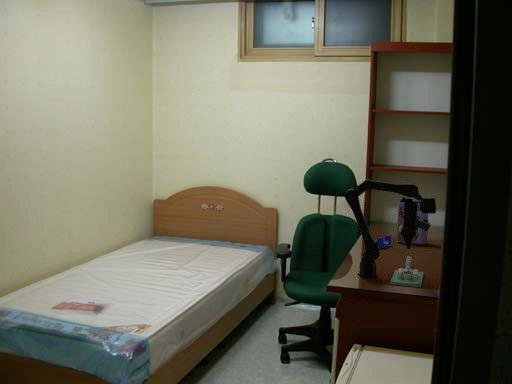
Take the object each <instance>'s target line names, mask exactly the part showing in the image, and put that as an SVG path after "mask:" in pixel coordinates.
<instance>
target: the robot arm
mask: <svg viewBox="0 0 512 384" xmlns="http://www.w3.org/2000/svg"><path fill="white" fill-rule="evenodd" d="M367 190H375V191H383V192H387V193H388V192H389V193H395V194H398V195H401V196H402V197H401V198H400V199H399V203H404V211H403V228H402V229H401V235H402V236H403V238H404V241H405V243H406V244H405V243H404V244H405V246H406V247H407V249H408V250H411V247H412V240H413V237H414V236H416V234H417V232H416V231H418V228H421V229H423V230H425V231H427V232H429V230H430V227H431V223H430V222H429V219H428V220H427V219H424V220H420V219H418V216H417V206H418V204H419V211H421V213H424V214H428V215H430V214H431V215H435V214H436V213H437V205H436V198H435V197H423V196H422V195H421V194H420V193H419V192H420V191H419V187H418V186H417V185H416V184H414V183H393V182H384V181H376V180H370V179H364V180H363V181H362V182H361V183H359V184H358V185H357V186H356V187H354V188H348V190H346V191H345V192H344V193H345V194H344V199H345V201H346V203H347V204H348V207H350V209H351V210H352V213H353V215H354V218H355V220H356V223H357V225H358V229H359V231H360V235H361V237H362V239H363V243H364V248H365V251H364V252H363V253H362V254H361V258H360V260H361V261H359V273H357V274H356V275H357V276H360V277H363V278H367V279H368V278H375V277H378V274H377V263H376V262H377V261H376V260H378V258H379V257H380V255H381V252H380V251H381V249H380V247H379V245H378V242H377V239H374V238H373V237H372V234H371V232H370V229H369V225H368V223H367V221H366V218H365V216H364V214H363V210H362V208H361V204H360V203H361V202H360V196H361V195H362V194H364V193H365V192H367ZM406 197H407V198H406ZM413 198H414V199H415V200H413Z"/></svg>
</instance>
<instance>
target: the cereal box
mask: <svg viewBox="0 0 512 384" xmlns="http://www.w3.org/2000/svg"><path fill="white" fill-rule="evenodd" d="M403 211H404V202H398V203H397V217H396V218H397V221H396V224H397V227H396V243H397V242H405V241H404V238H403V236H402V235H401V229H402V228H403ZM417 216H418V219H420V220H424V219H427V220H428V221H429V214H424V213H421V211H419V203H418V206H417ZM416 232H417V234H416V236H414V237H413V240H412V243H415V244H414V245H425V244H427V245H428V232H429V231H428V232H427V231H425V230H423V229H421V228H418V231H416Z"/></svg>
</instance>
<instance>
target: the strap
mask: <svg viewBox="0 0 512 384" xmlns="http://www.w3.org/2000/svg"><path fill="white" fill-rule="evenodd" d="M411 264H412V255H411V256H410V255H407V256H406V260H405V264H404V265H405V271H403V273H406V274H410V273H411V271H410V269H411V267H412V265H411Z"/></svg>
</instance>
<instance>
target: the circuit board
mask: <svg viewBox="0 0 512 384" xmlns="http://www.w3.org/2000/svg"><path fill="white" fill-rule="evenodd" d="M398 270H399V269H395V270H394V273H393V275H392V277H391V280H390V285H392V286H394V285H395V286H403V287H415V288H421V287H422V285H423V284H422V283H423V279H424V272H423V271H418V277H417V280H411V279H401V278H397V272H398Z"/></svg>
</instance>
